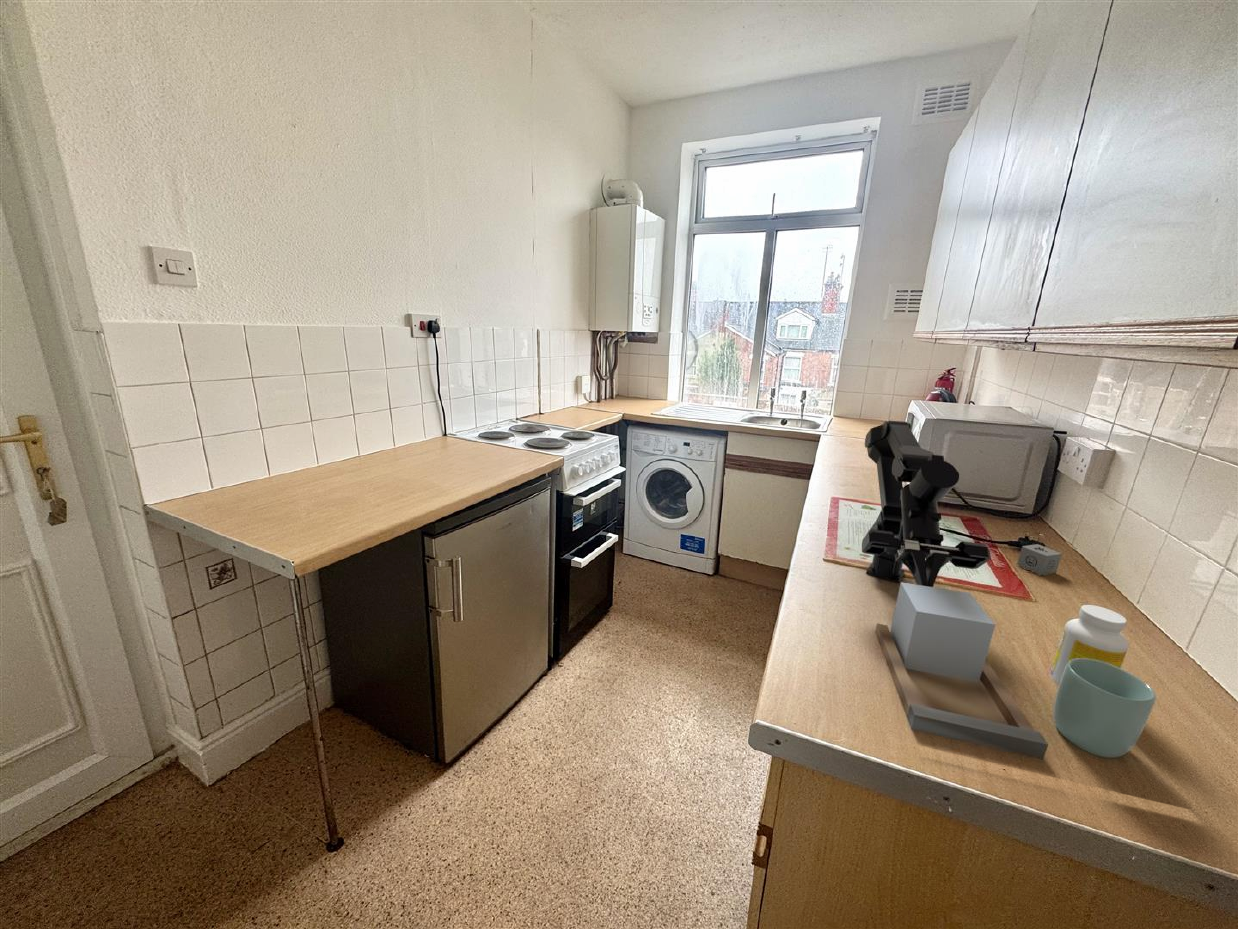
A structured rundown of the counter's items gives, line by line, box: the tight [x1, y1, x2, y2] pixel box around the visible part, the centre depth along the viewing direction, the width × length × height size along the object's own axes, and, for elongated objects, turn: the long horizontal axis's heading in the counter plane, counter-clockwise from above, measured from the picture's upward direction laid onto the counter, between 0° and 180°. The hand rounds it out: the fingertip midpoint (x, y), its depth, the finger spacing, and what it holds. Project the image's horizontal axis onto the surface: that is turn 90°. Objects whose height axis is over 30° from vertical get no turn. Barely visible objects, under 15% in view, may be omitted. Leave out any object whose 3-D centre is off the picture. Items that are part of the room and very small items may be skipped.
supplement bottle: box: [1049, 604, 1130, 686], centre depth 69 cm, size 7×7×13 cm
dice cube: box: [1016, 544, 1063, 576], centre depth 108 cm, size 5×5×5 cm
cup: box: [1053, 658, 1157, 759], centre depth 60 cm, size 8×8×10 cm
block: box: [889, 581, 996, 683], centre depth 74 cm, size 9×10×10 cm
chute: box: [874, 623, 1049, 760], centre depth 70 cm, size 22×14×3 cm, turn 163°
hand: (926, 596), depth 80 cm, fingers closed
